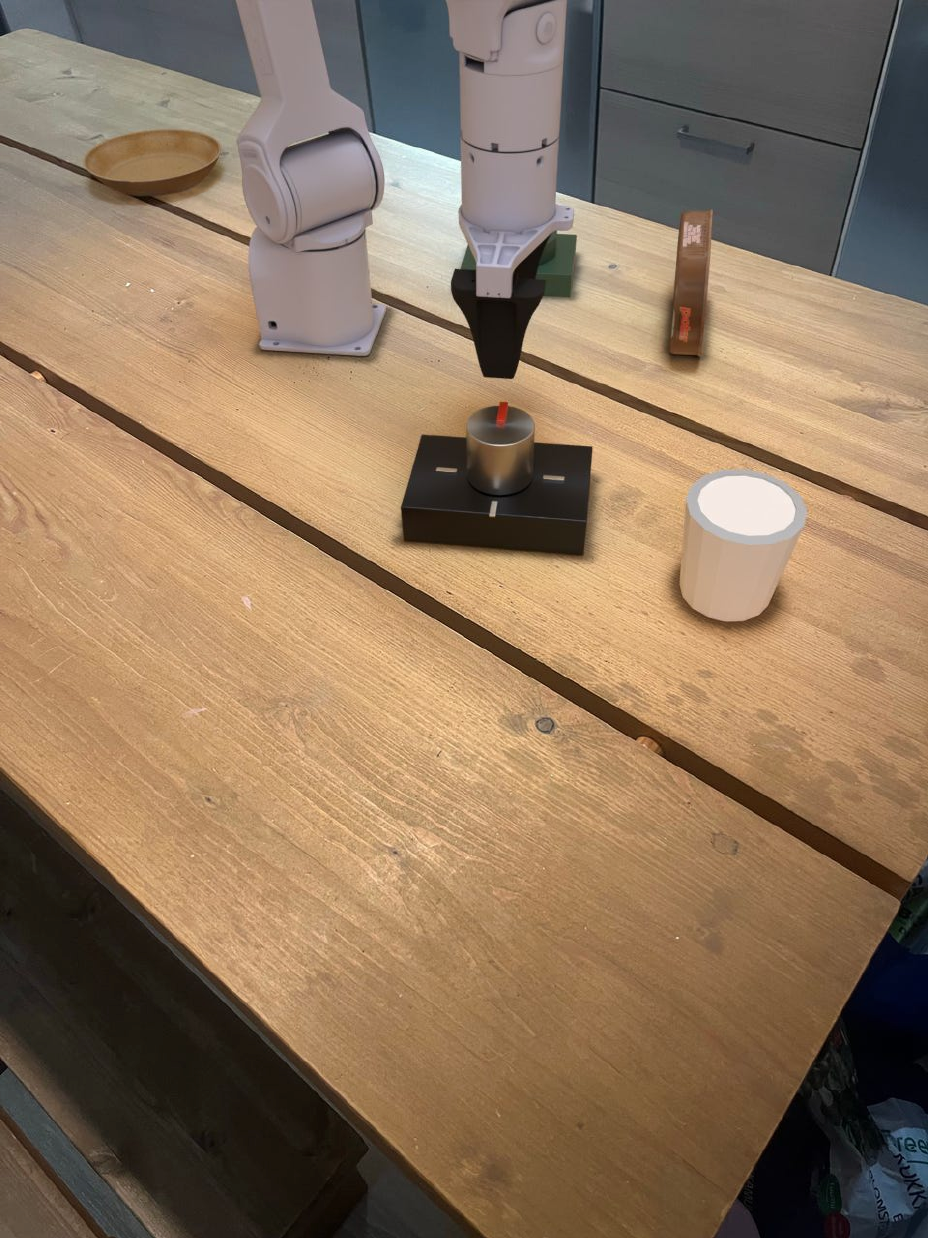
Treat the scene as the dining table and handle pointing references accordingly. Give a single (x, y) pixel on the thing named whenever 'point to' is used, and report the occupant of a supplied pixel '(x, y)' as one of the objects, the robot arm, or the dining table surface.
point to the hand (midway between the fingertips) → (505, 344)
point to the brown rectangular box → (691, 282)
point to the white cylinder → (737, 541)
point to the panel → (498, 501)
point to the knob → (500, 449)
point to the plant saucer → (153, 161)
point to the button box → (548, 264)
